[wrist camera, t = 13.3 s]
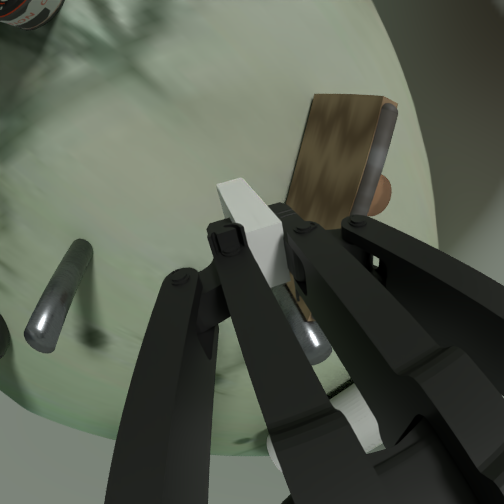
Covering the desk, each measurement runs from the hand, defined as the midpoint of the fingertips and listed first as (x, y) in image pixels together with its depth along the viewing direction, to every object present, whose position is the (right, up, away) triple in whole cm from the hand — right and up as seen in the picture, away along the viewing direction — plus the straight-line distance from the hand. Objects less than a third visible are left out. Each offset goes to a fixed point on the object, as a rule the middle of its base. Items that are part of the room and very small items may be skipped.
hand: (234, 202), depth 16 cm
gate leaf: (+6, +5, +15) cm, 17 cm away
